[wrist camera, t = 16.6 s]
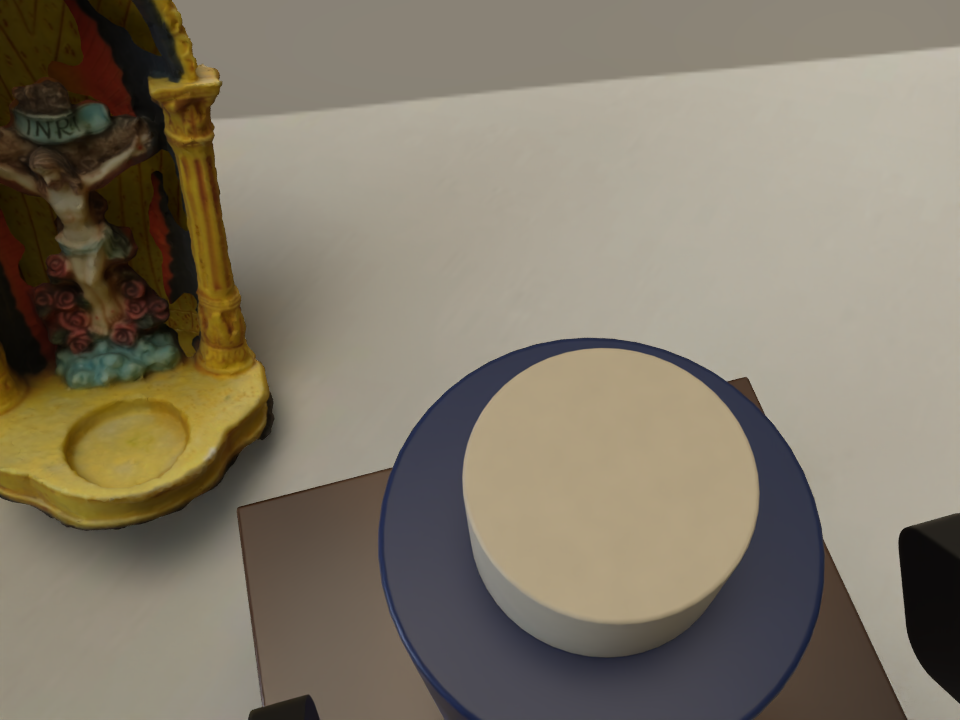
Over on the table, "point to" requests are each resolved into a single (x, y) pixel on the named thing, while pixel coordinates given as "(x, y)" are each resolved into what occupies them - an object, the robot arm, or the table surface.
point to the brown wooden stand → (385, 661)
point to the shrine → (115, 269)
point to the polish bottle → (600, 541)
